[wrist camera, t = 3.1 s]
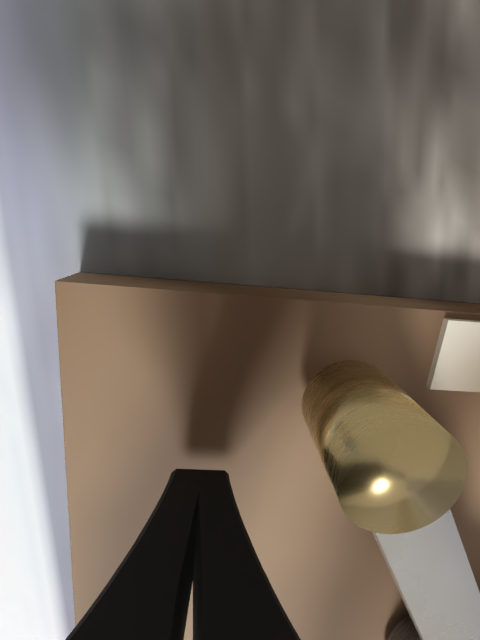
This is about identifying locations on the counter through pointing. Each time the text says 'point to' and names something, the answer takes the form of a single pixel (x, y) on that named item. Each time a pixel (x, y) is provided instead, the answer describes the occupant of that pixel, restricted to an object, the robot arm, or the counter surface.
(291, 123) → the counter surface
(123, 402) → the level stand
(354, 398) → the crank handle
